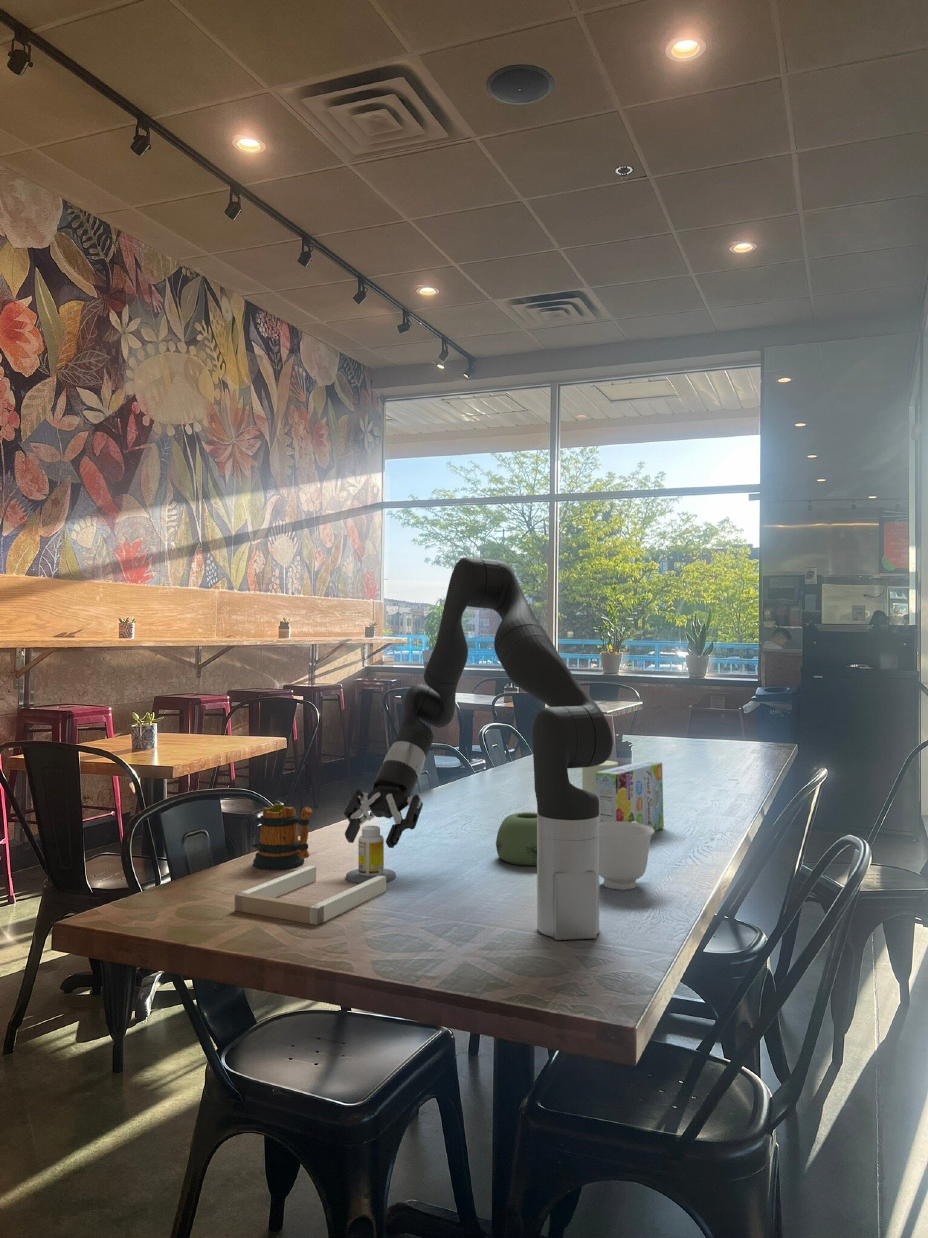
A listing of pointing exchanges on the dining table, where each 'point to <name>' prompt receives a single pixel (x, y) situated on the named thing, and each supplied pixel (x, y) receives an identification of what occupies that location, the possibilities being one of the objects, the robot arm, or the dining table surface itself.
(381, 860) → the supplement bottle
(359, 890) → the beige frame
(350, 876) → the coaster
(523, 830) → the mug
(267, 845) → the mug
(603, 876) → the teacup
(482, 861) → the dining table surface
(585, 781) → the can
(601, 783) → the snack box
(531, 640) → the robot arm
